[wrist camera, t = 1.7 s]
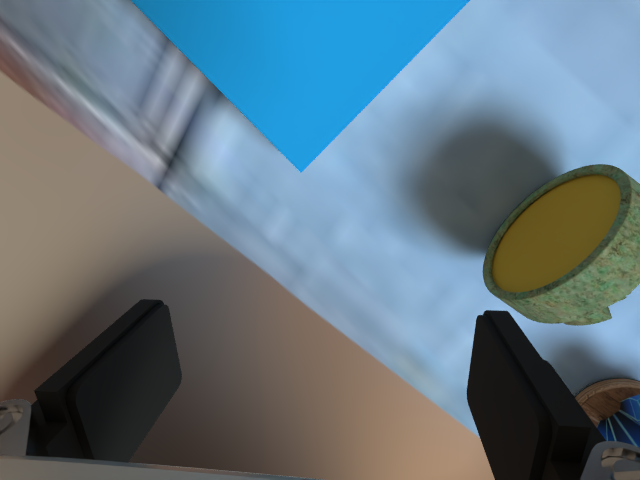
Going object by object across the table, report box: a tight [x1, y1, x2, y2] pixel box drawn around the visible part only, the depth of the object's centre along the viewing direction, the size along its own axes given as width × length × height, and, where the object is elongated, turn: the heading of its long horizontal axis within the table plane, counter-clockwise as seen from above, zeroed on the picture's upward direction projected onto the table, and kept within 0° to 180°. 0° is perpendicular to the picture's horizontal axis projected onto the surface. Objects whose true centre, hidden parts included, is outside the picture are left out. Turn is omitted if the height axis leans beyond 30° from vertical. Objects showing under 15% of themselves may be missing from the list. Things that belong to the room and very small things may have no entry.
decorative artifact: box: [483, 164, 640, 325], centre depth 23 cm, size 10×7×10 cm
